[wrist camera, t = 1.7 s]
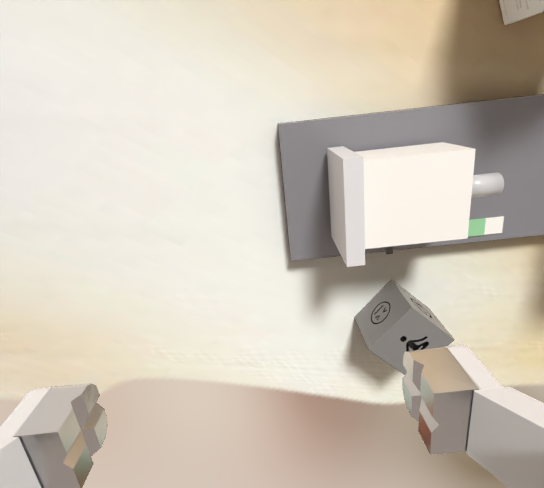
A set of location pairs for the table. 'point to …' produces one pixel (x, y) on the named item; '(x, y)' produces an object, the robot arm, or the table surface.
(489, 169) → the grey slide rail base
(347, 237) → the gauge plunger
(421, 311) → the dice cube
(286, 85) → the table surface
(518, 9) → the small box
